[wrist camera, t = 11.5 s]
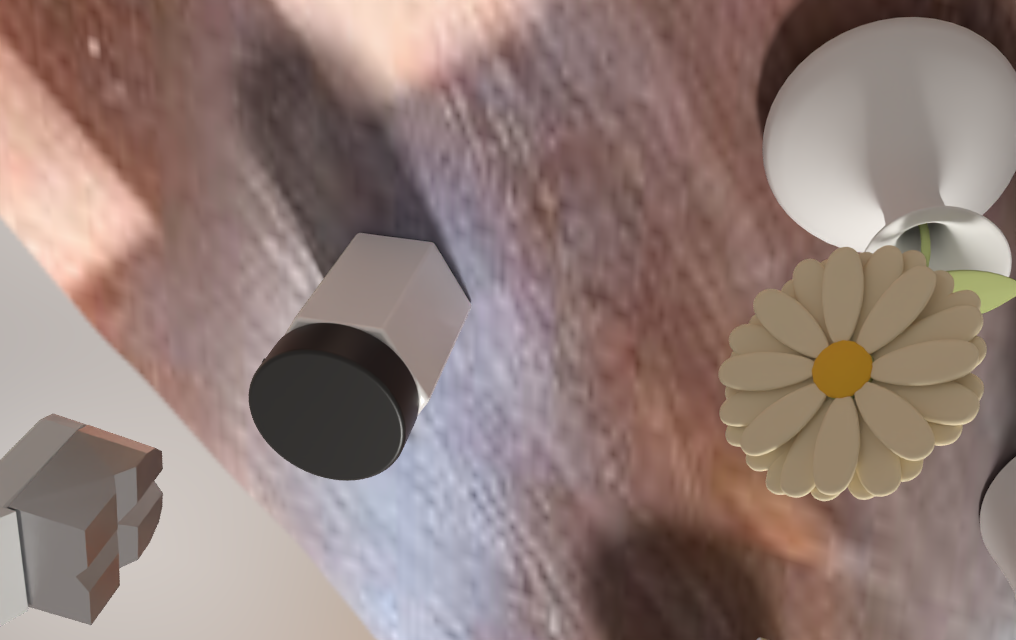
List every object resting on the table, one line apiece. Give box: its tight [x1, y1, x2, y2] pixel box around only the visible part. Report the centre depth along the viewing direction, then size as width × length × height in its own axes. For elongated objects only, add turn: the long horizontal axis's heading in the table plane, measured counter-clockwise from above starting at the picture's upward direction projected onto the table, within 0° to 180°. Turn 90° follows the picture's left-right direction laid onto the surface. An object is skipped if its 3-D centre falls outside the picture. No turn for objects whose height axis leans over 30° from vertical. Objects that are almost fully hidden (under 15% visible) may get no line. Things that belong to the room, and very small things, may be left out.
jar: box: [249, 233, 471, 480], centre depth 51 cm, size 9×8×12 cm
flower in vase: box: [719, 17, 1016, 501], centre depth 35 cm, size 13×11×25 cm
